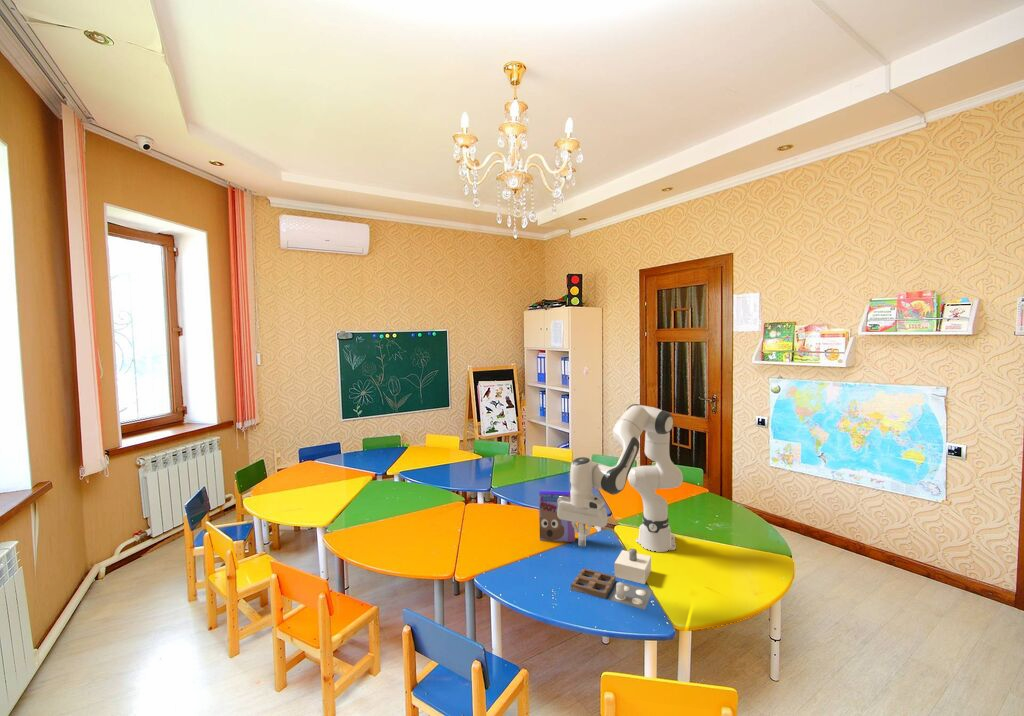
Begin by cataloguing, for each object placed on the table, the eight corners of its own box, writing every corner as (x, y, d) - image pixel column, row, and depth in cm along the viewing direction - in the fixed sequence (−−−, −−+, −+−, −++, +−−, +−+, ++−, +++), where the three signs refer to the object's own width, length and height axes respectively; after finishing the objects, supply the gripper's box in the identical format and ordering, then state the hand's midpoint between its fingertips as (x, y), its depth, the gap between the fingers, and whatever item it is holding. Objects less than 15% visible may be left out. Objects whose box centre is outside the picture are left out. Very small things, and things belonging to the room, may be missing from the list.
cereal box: (539, 540, 221) (538, 493, 220) (540, 536, 226) (539, 490, 225) (574, 542, 219) (574, 494, 218) (574, 537, 223) (574, 491, 222)
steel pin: (580, 542, 179) (579, 518, 178) (587, 544, 177) (586, 519, 177) (577, 545, 176) (576, 520, 176) (584, 547, 175) (583, 522, 174)
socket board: (583, 574, 189) (583, 568, 188) (615, 583, 182) (615, 576, 182) (571, 591, 176) (571, 584, 176) (605, 601, 170) (605, 593, 169)
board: (617, 583, 181) (617, 569, 181) (652, 592, 175) (652, 578, 174) (607, 602, 169) (607, 586, 169) (645, 612, 162) (645, 596, 162)
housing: (622, 565, 196) (622, 541, 195) (651, 572, 190) (651, 547, 189) (614, 579, 185) (614, 553, 184) (644, 586, 179) (644, 560, 178)
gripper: (554, 497, 178) (554, 531, 179) (603, 506, 168) (604, 541, 169) (560, 492, 184) (560, 525, 184) (608, 500, 174) (608, 535, 174)
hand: (582, 533), depth 177 cm, fingers closed on steel pin, 3 cm apart
